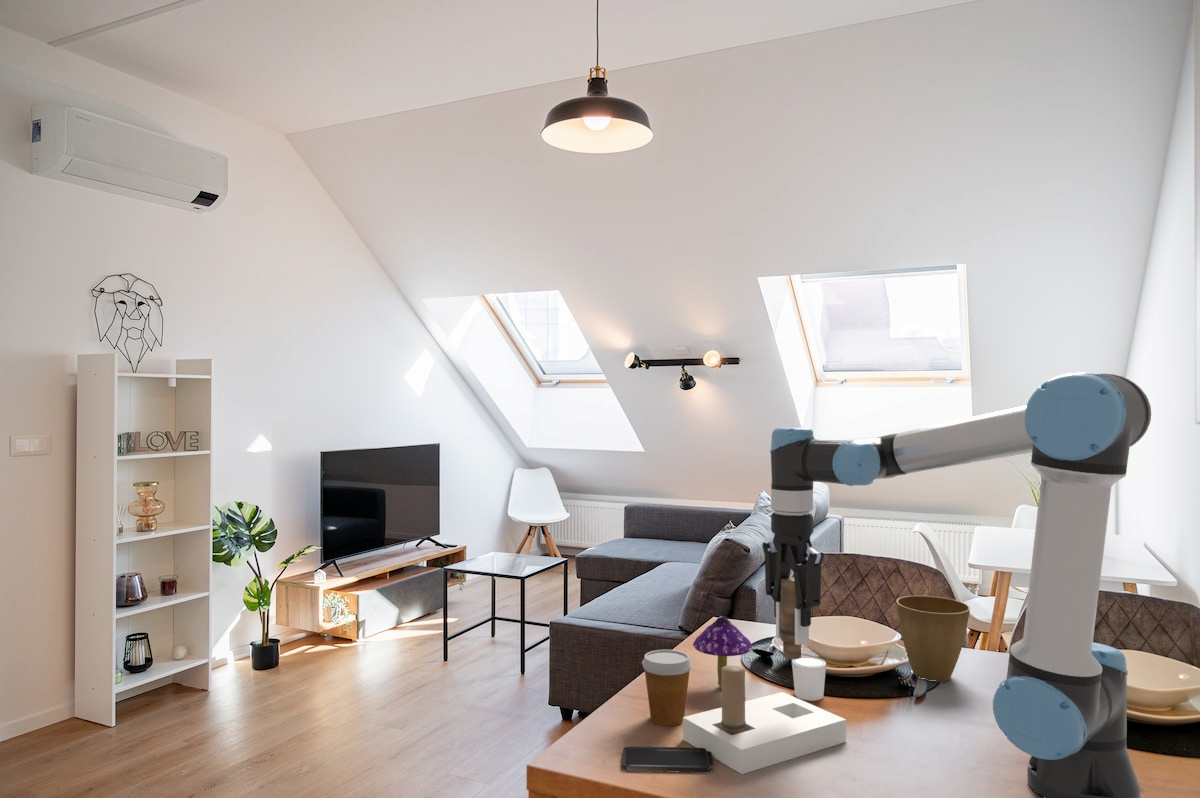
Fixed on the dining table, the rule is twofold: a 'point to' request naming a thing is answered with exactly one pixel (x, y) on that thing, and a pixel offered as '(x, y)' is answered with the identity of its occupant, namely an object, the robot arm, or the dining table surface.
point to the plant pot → (932, 634)
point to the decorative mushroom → (722, 642)
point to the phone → (667, 759)
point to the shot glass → (809, 678)
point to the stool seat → (761, 727)
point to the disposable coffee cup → (667, 685)
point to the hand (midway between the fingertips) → (792, 639)
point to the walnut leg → (789, 618)
